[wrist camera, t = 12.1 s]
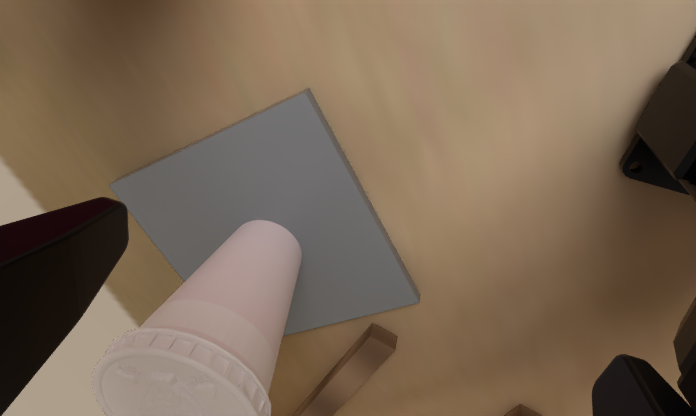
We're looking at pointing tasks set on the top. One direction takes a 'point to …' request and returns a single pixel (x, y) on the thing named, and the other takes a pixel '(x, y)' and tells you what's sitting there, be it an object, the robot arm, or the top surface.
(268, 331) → the smoothie
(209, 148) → the plate
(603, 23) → the top surface
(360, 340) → the lane
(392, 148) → the top surface
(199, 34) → the top surface
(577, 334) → the top surface
